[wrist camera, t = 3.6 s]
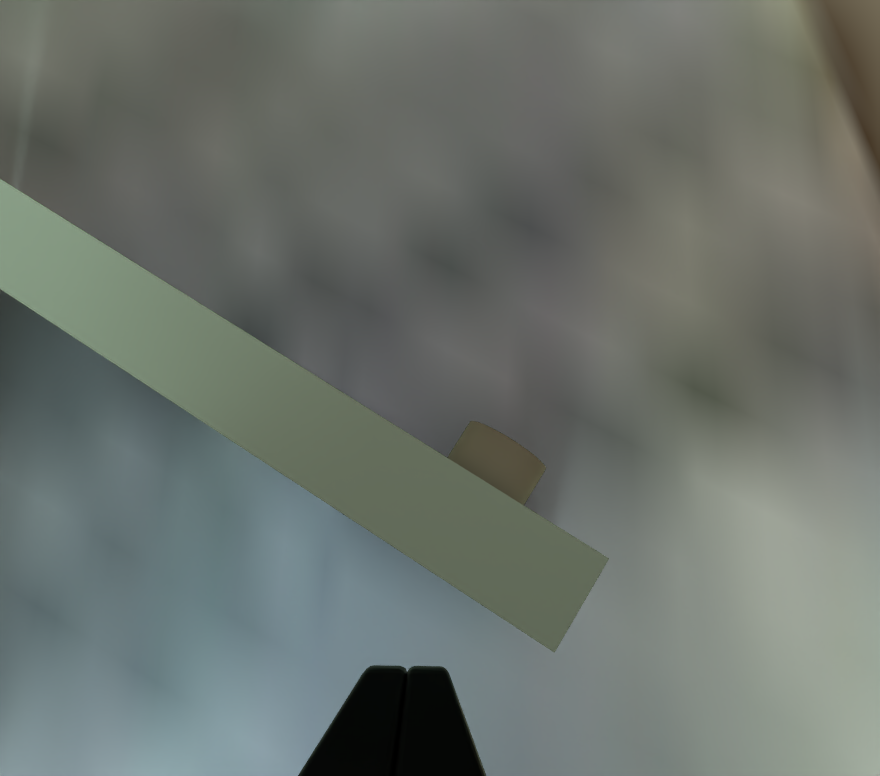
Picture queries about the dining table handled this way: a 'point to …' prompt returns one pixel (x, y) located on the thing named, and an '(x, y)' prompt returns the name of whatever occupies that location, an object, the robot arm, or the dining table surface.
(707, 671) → the dining table surface
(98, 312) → the door
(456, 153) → the dining table surface
